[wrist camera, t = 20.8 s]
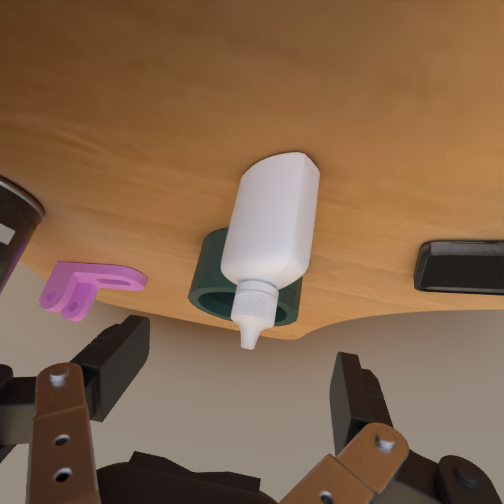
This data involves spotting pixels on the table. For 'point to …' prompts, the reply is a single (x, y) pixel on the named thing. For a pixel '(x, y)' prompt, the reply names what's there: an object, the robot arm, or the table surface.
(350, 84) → the table surface
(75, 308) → the bracket
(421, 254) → the phone
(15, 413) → the robot arm
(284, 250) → the eye dropper bottle
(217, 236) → the green short hollow cylinder
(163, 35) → the table surface
